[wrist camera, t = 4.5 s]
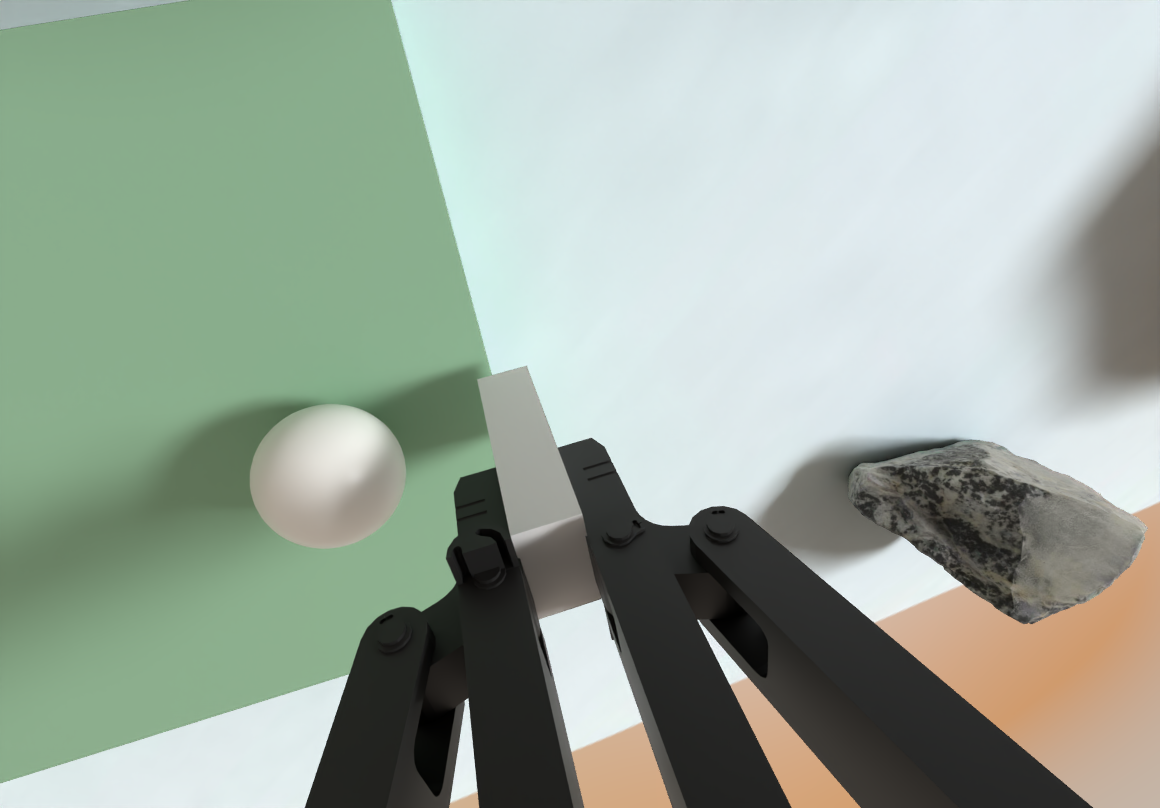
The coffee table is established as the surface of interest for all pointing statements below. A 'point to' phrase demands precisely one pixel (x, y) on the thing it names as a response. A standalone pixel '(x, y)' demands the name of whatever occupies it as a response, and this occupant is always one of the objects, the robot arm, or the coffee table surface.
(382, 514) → the ball
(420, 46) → the coffee table surface
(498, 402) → the robot arm
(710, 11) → the coffee table surface
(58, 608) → the green
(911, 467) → the stone
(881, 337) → the coffee table surface
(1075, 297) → the coffee table surface
